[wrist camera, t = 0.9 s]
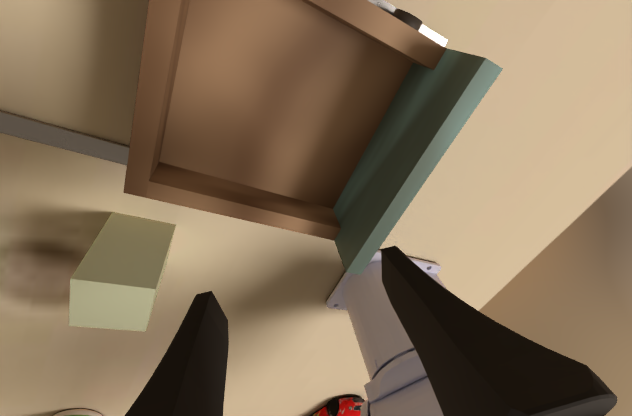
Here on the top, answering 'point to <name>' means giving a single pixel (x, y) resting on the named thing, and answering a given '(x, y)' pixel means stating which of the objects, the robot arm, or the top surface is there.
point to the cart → (297, 114)
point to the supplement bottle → (78, 413)
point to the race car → (342, 407)
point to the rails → (102, 147)
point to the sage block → (120, 274)
